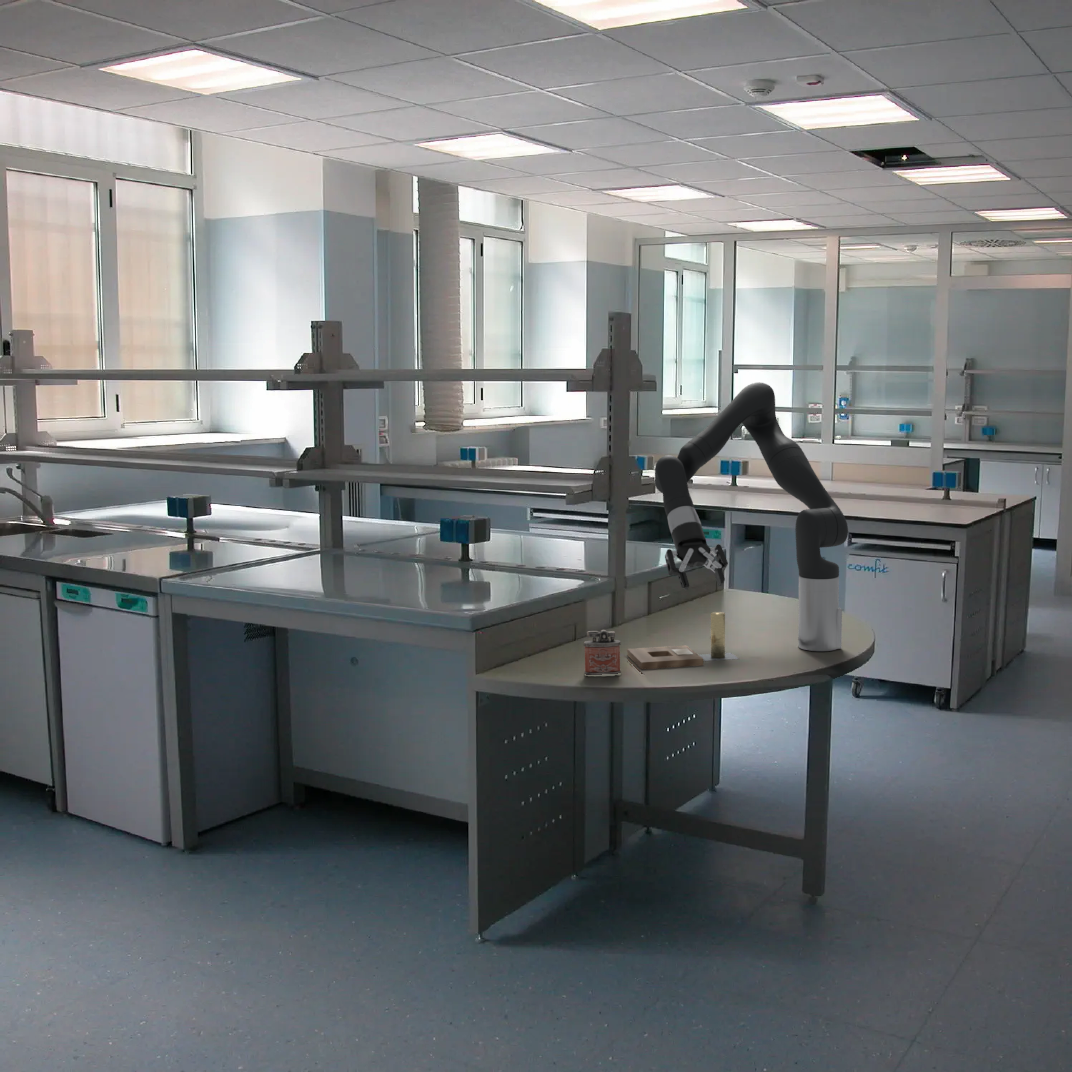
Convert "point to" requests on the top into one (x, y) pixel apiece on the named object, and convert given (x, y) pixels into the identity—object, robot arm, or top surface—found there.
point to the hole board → (664, 657)
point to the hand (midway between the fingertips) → (704, 586)
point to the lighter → (602, 653)
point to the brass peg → (717, 635)
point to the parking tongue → (727, 657)
